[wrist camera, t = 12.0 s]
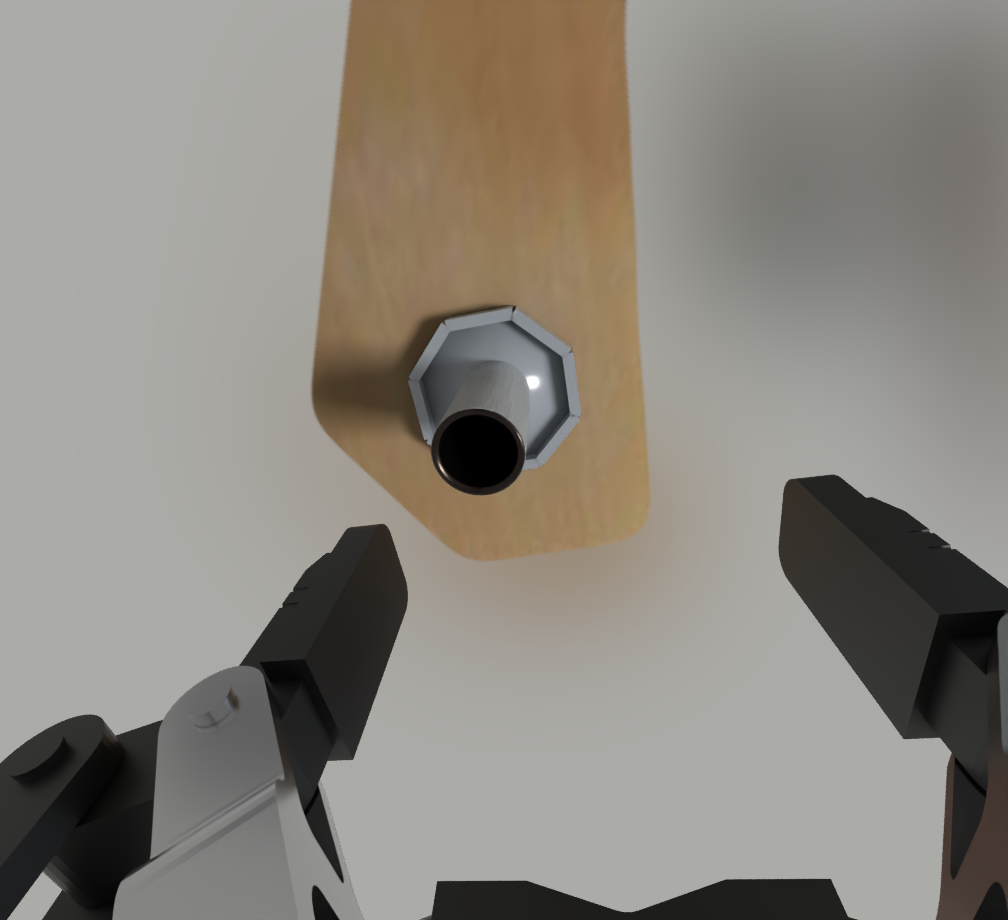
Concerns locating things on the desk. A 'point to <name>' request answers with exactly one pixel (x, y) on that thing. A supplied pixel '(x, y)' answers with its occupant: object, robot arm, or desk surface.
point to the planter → (484, 431)
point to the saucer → (508, 341)
